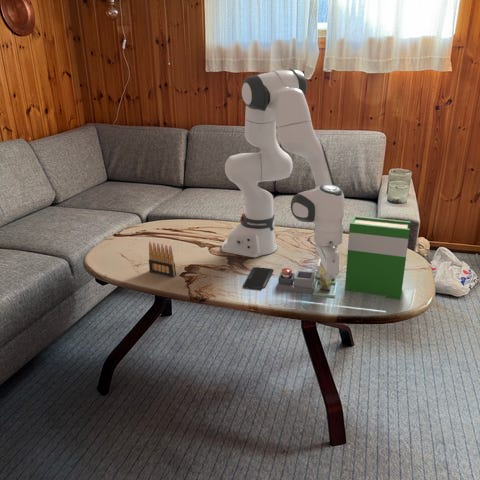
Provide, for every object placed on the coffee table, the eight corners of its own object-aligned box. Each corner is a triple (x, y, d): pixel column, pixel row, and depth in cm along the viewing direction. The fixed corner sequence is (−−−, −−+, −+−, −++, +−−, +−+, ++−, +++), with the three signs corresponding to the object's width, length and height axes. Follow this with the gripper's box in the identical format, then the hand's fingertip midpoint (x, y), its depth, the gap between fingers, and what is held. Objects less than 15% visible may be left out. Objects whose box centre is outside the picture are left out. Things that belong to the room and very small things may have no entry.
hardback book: (402, 289, 153) (410, 221, 144) (400, 299, 147) (409, 229, 137) (348, 281, 159) (353, 215, 150) (344, 291, 153) (349, 223, 143)
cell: (320, 290, 151) (321, 266, 148) (319, 284, 154) (320, 261, 151) (331, 290, 151) (333, 266, 148) (330, 285, 154) (331, 261, 151)
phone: (274, 269, 167) (264, 288, 154) (274, 271, 168) (264, 291, 154) (253, 266, 169) (242, 285, 156) (253, 269, 170) (242, 288, 156)
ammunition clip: (176, 275, 166) (173, 245, 161) (173, 277, 164) (170, 246, 160) (152, 269, 171) (149, 240, 166) (149, 271, 169) (146, 241, 164)
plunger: (280, 280, 154) (280, 272, 153) (282, 276, 157) (282, 267, 156) (290, 281, 154) (290, 273, 152) (292, 277, 157) (292, 268, 155)
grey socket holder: (276, 290, 154) (277, 277, 152) (281, 280, 161) (281, 267, 159) (312, 295, 150) (313, 281, 149) (316, 283, 158) (316, 270, 156)
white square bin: (317, 278, 161) (317, 265, 159) (319, 270, 167) (319, 258, 165) (335, 280, 159) (335, 267, 158) (336, 272, 165) (337, 260, 163)
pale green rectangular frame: (312, 296, 150) (313, 292, 149) (316, 282, 158) (316, 279, 158) (334, 298, 148) (334, 295, 148) (337, 285, 156) (337, 282, 156)
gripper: (345, 249, 136) (342, 290, 141) (331, 224, 155) (329, 261, 160) (324, 249, 136) (322, 290, 141) (313, 225, 155) (311, 262, 160)
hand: (326, 275), depth 151 cm, fingers closed on cell, 3 cm apart
